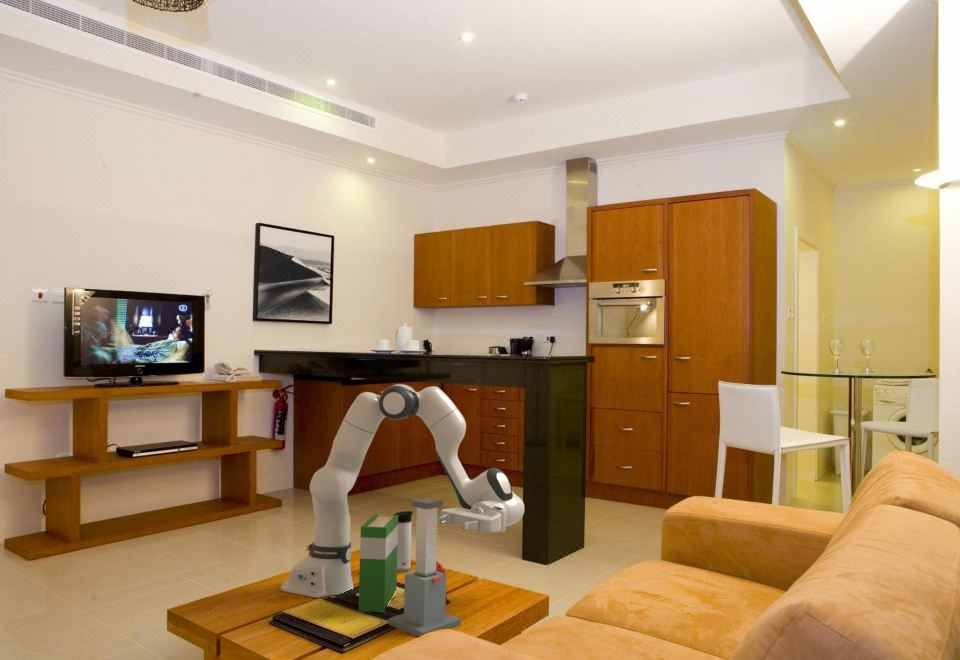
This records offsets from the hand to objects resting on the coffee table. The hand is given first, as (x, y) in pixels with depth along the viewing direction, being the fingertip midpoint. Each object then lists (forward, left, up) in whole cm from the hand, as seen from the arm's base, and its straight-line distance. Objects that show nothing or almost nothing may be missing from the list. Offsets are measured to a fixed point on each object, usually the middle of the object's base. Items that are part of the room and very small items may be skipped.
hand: (451, 523), depth 196 cm
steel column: (-5, -9, -18) cm, 20 cm away
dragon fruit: (-14, +24, -26) cm, 38 cm away
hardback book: (-24, +4, -26) cm, 35 cm away
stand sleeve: (-5, -9, -26) cm, 28 cm away
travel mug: (-29, +37, -26) cm, 54 cm away
